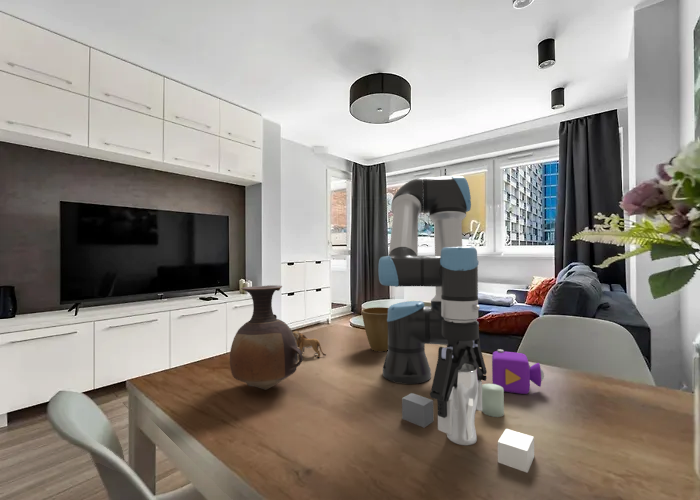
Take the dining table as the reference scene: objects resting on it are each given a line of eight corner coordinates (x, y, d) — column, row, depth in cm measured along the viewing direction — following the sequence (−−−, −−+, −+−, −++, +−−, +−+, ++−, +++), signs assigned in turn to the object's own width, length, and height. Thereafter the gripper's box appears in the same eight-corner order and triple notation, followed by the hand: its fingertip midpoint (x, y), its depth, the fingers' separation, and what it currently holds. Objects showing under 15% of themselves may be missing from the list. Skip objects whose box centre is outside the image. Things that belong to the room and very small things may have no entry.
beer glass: (478, 431, 74) (477, 363, 74) (479, 449, 68) (478, 373, 68) (445, 427, 77) (444, 360, 77) (443, 443, 70) (442, 370, 70)
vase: (315, 389, 99) (314, 285, 99) (256, 412, 85) (255, 291, 85) (270, 371, 115) (269, 282, 115) (214, 388, 101) (213, 286, 101)
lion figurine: (288, 356, 132) (287, 332, 132) (294, 352, 137) (294, 329, 137) (323, 358, 127) (323, 334, 127) (328, 354, 133) (328, 331, 133)
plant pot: (354, 349, 139) (354, 310, 139) (379, 342, 149) (378, 306, 149) (382, 357, 128) (381, 314, 128) (406, 349, 138) (406, 309, 138)
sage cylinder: (478, 412, 83) (477, 387, 84) (487, 405, 87) (486, 382, 87) (499, 419, 80) (498, 393, 80) (507, 411, 83) (506, 387, 84)
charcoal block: (402, 419, 81) (401, 398, 81) (412, 413, 83) (411, 393, 84) (424, 428, 76) (423, 405, 76) (433, 421, 79) (433, 400, 79)
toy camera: (549, 398, 91) (549, 360, 91) (495, 394, 94) (494, 358, 94) (536, 383, 101) (535, 349, 102) (487, 380, 104) (487, 347, 104)
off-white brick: (527, 473, 60) (527, 451, 60) (497, 463, 64) (497, 441, 64) (534, 457, 65) (533, 436, 65) (506, 448, 68) (506, 428, 68)
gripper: (445, 331, 61) (447, 451, 61) (500, 313, 79) (502, 405, 78) (410, 326, 66) (412, 435, 66) (469, 309, 84) (471, 396, 84)
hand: (461, 419), depth 72 cm, fingers open, 13 cm apart
